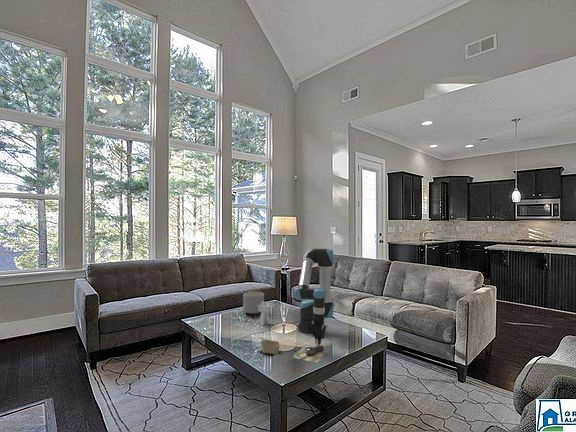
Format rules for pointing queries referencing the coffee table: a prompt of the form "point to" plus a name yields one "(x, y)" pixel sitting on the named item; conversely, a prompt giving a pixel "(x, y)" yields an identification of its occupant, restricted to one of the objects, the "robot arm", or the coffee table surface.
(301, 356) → the tuner board
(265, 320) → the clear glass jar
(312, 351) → the peg dial
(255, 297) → the planter
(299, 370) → the coffee table surface
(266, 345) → the decorative stone
